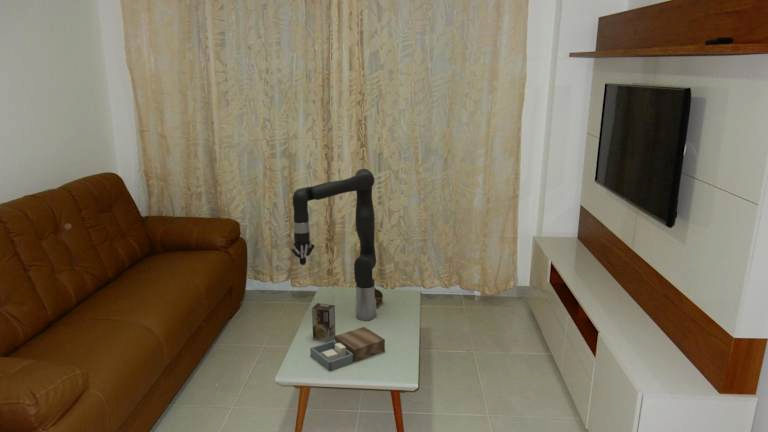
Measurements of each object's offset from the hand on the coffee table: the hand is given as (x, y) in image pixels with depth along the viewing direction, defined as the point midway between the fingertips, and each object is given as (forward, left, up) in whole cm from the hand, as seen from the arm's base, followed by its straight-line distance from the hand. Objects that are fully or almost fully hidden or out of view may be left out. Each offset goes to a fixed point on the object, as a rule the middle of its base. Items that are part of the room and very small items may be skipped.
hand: (302, 264), depth 276 cm
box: (+10, +43, -29) cm, 53 cm away
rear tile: (+6, +44, -26) cm, 51 cm away
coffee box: (+3, +24, -29) cm, 38 cm away
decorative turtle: (-40, +4, -29) cm, 50 cm away
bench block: (-4, +43, -29) cm, 52 cm away
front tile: (+11, +43, -26) cm, 51 cm away
